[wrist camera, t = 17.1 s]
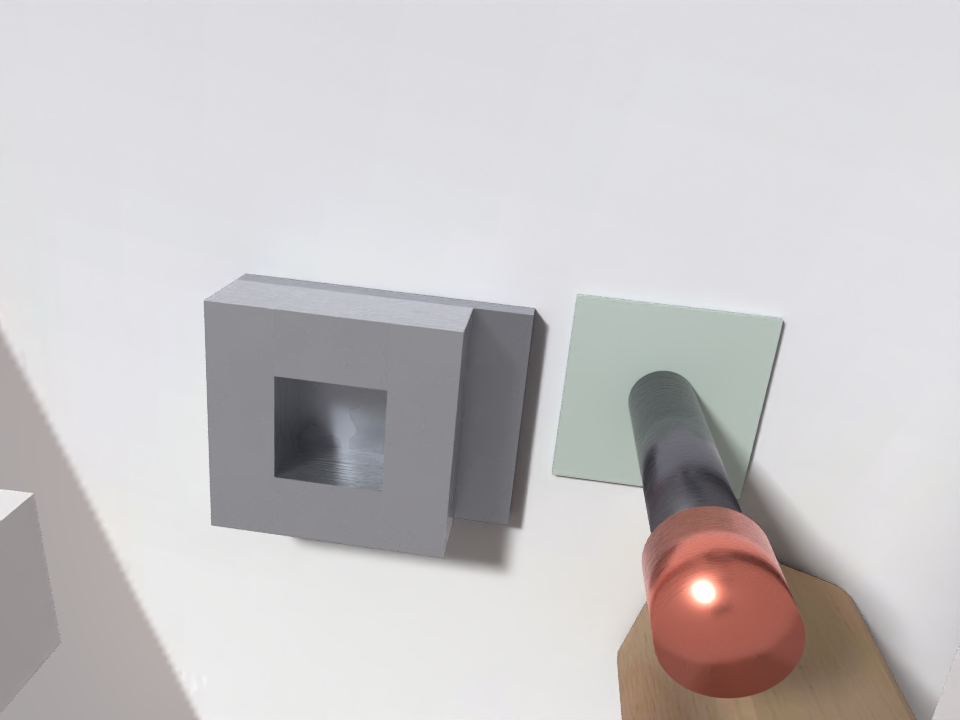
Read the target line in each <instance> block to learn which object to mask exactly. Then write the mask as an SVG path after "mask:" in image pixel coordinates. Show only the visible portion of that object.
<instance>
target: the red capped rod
mask: <svg viewBox="0 0 960 720" xmlns="http://www.w3.org/2000/svg"><path fill="white" fill-rule="evenodd" d="M628 406H629V412H630V418H631V423H632V429H633V434H634V440H635V446H636V451H637V457H638V463H639V468H640V474H641V480H642V485H643V491H644V497H645V502H646V508H647V514H648V519H649V525H650V531H651V535H650V536H649V538H648V540H647V542H646V544H645V547H644V550H643V555H642V569H643V576H644V582H645V589H646V596H647V603H648V610H649V616H650V623H651V630H652V637H653V644H654V649H655V653H656V656H657V659H658V661H659V663H660V664H661V666H662V668H663V669H664V670H665V672H666V673H667V674H668V675H669V676H670V677H671V678H672V679H673V680H674V681H676V682H677V683H678V684H680V685H681V686H683V687H685V688H686V689H688V690H691V691H693V692H695V693H698V694H701V695H704V696H709V697H714V698H741V697H747V696H752V695H755V694H758V693H761V692H763V691H766V690H768V689H770V688H772V687H773V686H775V685H777V684H778V683H780V682H781V681H782V680H784V679H785V678H786V677H787V676H788V675H789V674H790V673H791V672H792V671H793V669H794V668H795V667H796V666H797V664H798V662H799V660H800V659H801V656H802V653H803V651H804V646H805V627H804V624H803V621H802V618H801V615H800V613H799V611H798V608H797V606H796V604H795V601H794V599H793V597H792V594H791V592H790V589H789V587H788V585H787V582H786V580H785V578H784V575H783V573H782V571H781V568H780V566H779V563H778V561H777V559H776V556H775V554H774V552H773V549H772V547H771V545H770V542H769V540H768V538H767V536H766V534H765V533H764V532H763V530H762V529H761V528H760V527H759V526H758V525H757V524H756V523H755V522H754V521H753V520H752V519H750V518H749V517H747V516H745V515H744V514H742V512H741V509H740V507H739V504H738V502H737V499H736V497H735V494H734V491H733V489H732V486H731V484H730V481H729V479H728V476H727V473H726V471H725V468H724V466H723V463H722V461H721V458H720V455H719V453H718V450H717V448H716V445H715V443H714V440H713V437H712V435H711V432H710V430H709V427H708V425H707V422H706V419H705V417H704V414H703V412H702V409H701V407H700V404H699V401H698V399H697V396H696V394H695V391H694V389H693V387H692V385H691V384H690V382H689V381H688V380H687V379H686V378H684V377H683V376H681V375H680V374H677V373H675V372H671V371H655V372H652V373H649V374H647V375H645V376H643V377H642V378H640V379H639V380H638V381H637V382H636V383H635V384H634V386H633V387H632V389H631V391H630V394H629V398H628Z"/></svg>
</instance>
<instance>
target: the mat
mask: <svg viewBox="0 0 960 720" xmlns="http://www.w3.org/2000/svg"><path fill="white" fill-rule="evenodd" d="M782 324H783V320H782V318H776V317H768V316H759V315H751V314H742V313H734V312H725V311H717V310H708V309H700V308H691V307H683V306H674V305H666V304H658V303H649V302H641V301H632V300H624V299H615V298H607V297H598V296H590V295H581V294H577V299H576V306H575V313H574V320H573V327H572V334H571V341H570V348H569V355H568V362H567V369H566V376H565V383H564V390H563V397H562V404H561V411H560V419H559V426H558V433H557V440H556V447H555V454H554V461H553V468H552V475H560V476H567V477H575V478H582V479H590V480H597V481H605V482H612V483H620V484H627V485H635V486H642V487H643V485H642V480H641V474H640V468H639V463H638V457H637V451H636V446H635V440H634V434H633V429H632V423H631V418H630V412H629V406H628V398H629V394H630V391H631V389H632V387H633V386H634V384H635V383H636V382H637V381H638V380H639V379H640V378H642V377H643V376H645V375H647V374H649V373H652V372H655V371H671V372H675V373H677V374H680V375H681V376H683V377H684V378H686V379H687V380H688V381H689V382H690V384H691V385H692V387H693V389H694V391H695V394H696V396H697V399H698V401H699V404H700V407H701V409H702V412H703V414H704V417H705V419H706V422H707V425H708V427H709V430H710V432H711V435H712V437H713V440H714V443H715V445H716V448H717V450H718V453H719V455H720V458H721V461H722V463H723V466H724V468H725V471H726V473H727V476H728V479H729V481H730V484H731V486H732V489H733V491H734V494H735V497H736V499H740V497H741V493H742V489H743V485H744V481H745V477H746V473H747V469H748V464H749V460H750V456H751V452H752V448H753V444H754V440H755V435H756V431H757V427H758V423H759V419H760V415H761V411H762V406H763V402H764V398H765V394H766V390H767V386H768V382H769V378H770V373H771V369H772V365H773V361H774V357H775V353H776V349H777V344H778V340H779V336H780V332H781V328H782Z"/></svg>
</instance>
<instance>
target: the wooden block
mask: <svg viewBox="0 0 960 720" xmlns="http://www.w3.org/2000/svg"><path fill="white" fill-rule="evenodd" d="M779 566H780V568H781V571H782V573H783V575H784V578H785V580H786V582H787V585H788V587H789V589H790V592H791V594H792V597H793V599H794V601H795V604H796V606H797V608H798V611H799V613H800V615H801V618H802V621H803V624H804V627H805V646H804V651H803V653H802V656H801V659H800V660H799V662H798V664H797V666H796V667H795V668H794V669H793V671H792V672H791V673H790V674H789V675H788V676H787V677H786V678H785V679H784V680H782V681H781V682H780V683H778V684H777V685H775V686H773V687H772V688H770V689H768V690H766V691H763V692H761V693H758V694H755V695H752V696H747V697H741V698H714V697H709V696H704V695H701V694H698V693H695V692H693V691H691V690H688V689H686V688H685V687H683V686H681V685H680V684H678V683H677V682H676V681H674V680H673V679H672V678H671V677H670V676H669V675H668V674H667V673H666V672H665V670H664V669H663V668H662V666H661V664H660V663H659V661H658V659H657V656H656V653H655V649H654V644H653V637H652V630H651V623H650V616H649V610H648V603H647V601H646V603H645V605H644V606H643V608H642V610H641V612H640V613H639V615H638V617H637V619H636V621H635V622H634V624H633V626H632V628H631V629H630V631H629V633H628V635H627V636H626V638H625V640H624V642H623V644H622V645H621V647H620V649H619V651H618V656H617V666H618V678H619V690H620V702H621V714H622V720H916V718H915V716H914V714H913V712H912V710H911V708H910V707H909V705H908V703H907V701H906V699H905V697H904V695H903V694H902V692H901V690H900V688H899V686H898V684H897V682H896V680H895V679H894V677H893V675H892V673H891V671H890V669H889V667H888V665H887V664H886V662H885V660H884V658H883V656H882V654H881V652H880V650H879V649H878V647H877V645H876V643H875V641H874V639H873V637H872V635H871V634H870V632H869V630H868V628H867V626H866V624H865V622H864V621H863V619H862V617H861V615H860V613H859V611H858V609H857V607H856V606H855V604H854V602H853V600H852V598H851V597H850V596H849V595H848V594H847V593H846V592H845V591H844V590H843V589H842V588H840V587H838V586H836V585H834V584H832V583H829V582H827V581H824V580H821V579H819V578H816V577H814V576H811V575H808V574H806V573H803V572H801V571H798V570H796V569H793V568H790V567H788V566H785V565H783V564H780V563H779Z"/></svg>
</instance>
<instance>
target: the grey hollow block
mask: <svg viewBox="0 0 960 720" xmlns="http://www.w3.org/2000/svg"><path fill="white" fill-rule="evenodd" d="M534 311H535V308H527V307H519V306H511V305H502V304H494V303H486V302H477V301H469V300H460V299H452V298H444V297H435V296H427V295H419V294H410V293H402V292H394V291H385V290H377V289H369V288H360V287H352V286H343V285H335V284H327V283H318V282H310V281H302V280H293V279H285V278H277V277H268V276H260V275H251V274H245V275H243V276H241V277H240V278H238V279H237V280H235V281H234V282H232V283H230V284H229V285H227V286H226V287H224V288H223V289H221V290H220V291H218V292H216V293H215V294H213V295H212V296H210V297H209V298H207V299H206V300H204V318H205V348H206V378H207V408H208V438H209V468H210V498H211V525H213V526H220V527H227V528H234V529H241V530H248V531H255V532H263V533H270V534H277V535H284V536H291V537H298V538H305V539H312V540H319V541H326V542H333V543H340V544H347V545H355V546H362V547H369V548H376V549H383V550H390V551H397V552H404V553H411V554H418V555H425V556H432V557H440V558H443V557H444V553H445V549H446V545H447V541H448V538H449V534H450V530H451V526H452V522H453V518H460V519H467V520H474V521H481V522H489V523H496V524H503V525H508V522H509V514H510V506H511V498H512V490H513V482H514V474H515V466H516V457H517V449H518V441H519V433H520V425H521V417H522V409H523V401H524V392H525V384H526V376H527V368H528V360H529V352H530V344H531V336H532V327H533V319H534Z"/></svg>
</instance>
